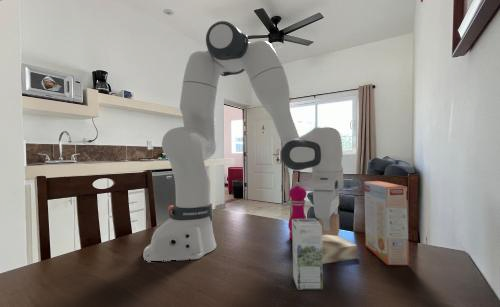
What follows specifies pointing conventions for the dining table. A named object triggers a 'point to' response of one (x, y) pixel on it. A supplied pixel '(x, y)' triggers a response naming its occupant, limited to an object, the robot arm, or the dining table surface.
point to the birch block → (337, 249)
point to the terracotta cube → (332, 225)
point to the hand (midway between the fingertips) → (329, 226)
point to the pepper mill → (297, 204)
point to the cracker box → (387, 221)
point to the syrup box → (307, 254)
